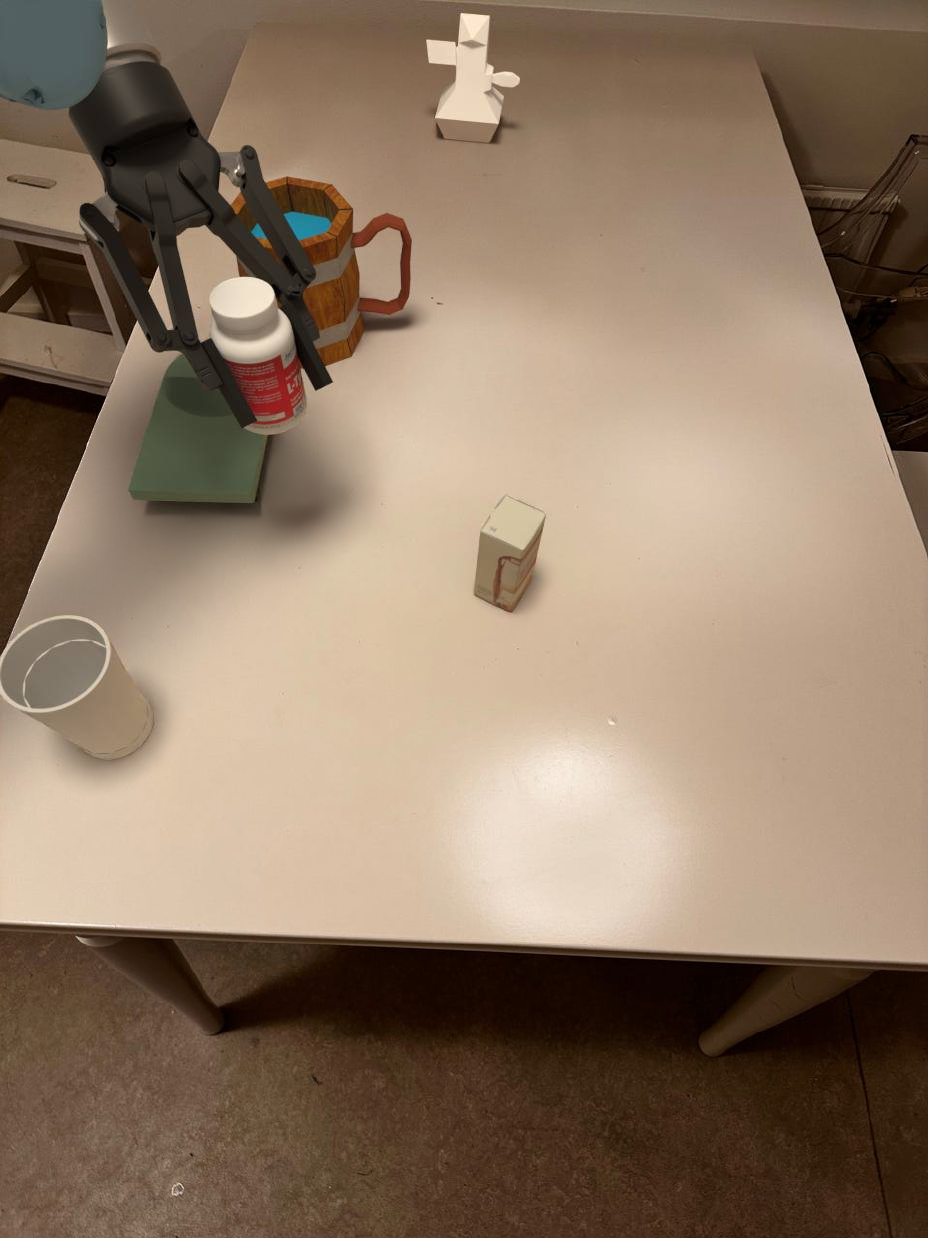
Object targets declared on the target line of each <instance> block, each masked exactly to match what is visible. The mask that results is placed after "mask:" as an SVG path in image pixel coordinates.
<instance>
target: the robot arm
mask: <svg viewBox="0 0 928 1238" xmlns="http://www.w3.org/2000/svg"><path fill="white" fill-rule="evenodd" d="M162 59H163V58H162V55H161V52H160V49H159V48H158V46H157V44H156V42H155V39H154V38H153V37H152V35H151V33H150V30H149V28H148V27H147V25H146V23H145V21H144V19H143V17H142V15H141V13H140V12H139V10H138V8H137V6H136V3H135V2H134V1H133V0H0V98H1V99H4V100H6V101H8V102H10V103H11V102H12V103H18V104H22V105H25V106H26V107H27V106H28V107H31V108H34V109H38V110H42V111H60V110H65V109H68V117H69V120H70V122H71V124H72V126H73V127H74V129H75V131H76V132H77V134H78V136H79V138H80V139H81V141H82V143H83V145H84V146H85V149H86V150H87V152H88V154H89V155H90V157H91V159H92V161H93V162H94V164H95V166H96V168H97V169H98V171H99V173H100V175H101V177H102V181H103V189H104V193H103V194H101V196H100V197H98V198H96V200H94V201H93V202H92V203H91V202H84V203H82V204H81V205H80V207H79V212H78V213H79V215H78V217H79V219H78V223H79V224H78V225H79V228H80V229H81V230H82V231H83V233H85V235H87V236H88V238H89V239H90V240H91V241H92V242H93V243H94V244H95V245H96V246H97V247H98V248H99V249H100V251H101V252H102V253H103V256H104V257H105V259H106V261H107V263H108V265H109V268H110V270H111V272H112V273H113V275H114V277H115V279H116V281H117V283H118V285H119V287H120V289H121V291H122V293H123V295H124V297H125V299H126V301H127V303H128V305H129V307H130V309H131V311H132V314H133V315H134V318H135V320H136V321H137V323H138V325H139V327H140V329H141V332H142V333H143V335H144V337H145V339H146V341H147V343H148V345H149V347H150V348H151V350H152V351H154V352H155V353H157V354H158V353H159V354H161V353H164V352H179V353H180V354H184V355H185V357H186V358H187V360H188V362H189V363H190V365H191V367H192V369H193V370H194V372H195V374H196V376H197V377H198V379H199V381H200V383H201V384H202V386H203V387H204V388H205V389H206V390H207V391H208V392H210V391H212V390H215V389H217V388H219V390H220V391H221V393H222V395H223V397H224V398H225V400H226V402H227V404H228V405H229V407H230V409H231V411H232V412H233V414H234V416H235V418H236V419H237V421H238V423H239V425H240V426H241V428H244V427H246V426H248V425H250V424H252V423H254V422H256V421H257V419H256V417H255V415H254V413H253V412H252V410H251V408H250V406H249V404H248V403H247V401H246V399H245V397H244V395H243V394H242V392H241V390H240V388H239V387H238V385H237V383H236V381H235V379H234V378H233V376H232V374H231V372H230V370H229V369H228V367H227V365H226V363H225V361H224V360H223V358H222V356H221V354H220V353H219V351H218V349H217V347H216V345H215V344H214V342H213V340H212V338H210V337H209V338H207V339H204V340H203V341H201V340H200V339H199V334H198V333H199V332H198V328H197V323H196V319H195V316H194V311H193V307H192V302H191V299H190V295H189V290H188V286H187V281H186V277H185V273H184V269H183V265H182V260H181V255H180V251H179V247H178V238H177V237H178V236H180V235H182V234H183V233H184V232H185V231H186V230H187V229H194V228H201V227H203V226H205V227H206V228H207V229H208V230H209V232H210V233H212V234H213V235H214V236H216V237H218V238H219V239H220V240H221V241H222V242H223V243H224V244H225V245H226V246H227V248H228V249H230V251H231V252H232V253H233V254H234V255H235V257H236V256H237V257H238V258H239V259H240V260H241V261H242V262H243V263H244V265H245V266H246V267H247V268H248V269H249V270H250V271H251V272H252V273H253V274H254V275H255V277H256V278H257V279H261V280H263V281H265V282H266V283H268V284H269V285H270V286H271V287H272V289H273V290H274V293H275V297H276V299H277V300H278V301H279V303H280V304H282V305H283V306H282V307H281V308H280V310H281V311H282V312H283V313H284V314H285V315H286V316H287V317H288V319H289V321H290V323H291V326H292V330H293V334H294V340H295V345H296V350H297V355H298V359H299V361H300V363H301V365H302V366H303V368H304V369H303V370H304V372H305V374H306V376H307V378H308V379H309V382H310V384H311V386H312V388H313V389H314V391H315V392H317V391H319V390H321V389H322V388H324V387H325V388H326V387H327V386H329V385H331V384H333V383H334V381H333V379H332V377H331V374H330V373H329V371H328V369H327V367H326V366H325V365H324V363H323V361H322V359H321V357H320V355H319V353H318V351H317V349H316V347H315V345H314V343H313V342H314V341H316V340H317V339H319V338H320V334H319V329H318V327H317V325H316V324H315V322H314V320H313V318H312V316H311V314H310V312H309V310H308V308H307V306H306V304H305V302H304V299H303V292H304V290H305V289H306V288H307V287H308V286H309V284H310V283H311V282H312V281H313V280H314V279H315V277H316V271H315V268H314V267H313V265H312V263H311V261H310V260H309V258H308V256H307V254H306V253H305V251H304V249H303V247H302V246H301V244H300V242H299V240H298V239H297V237H296V235H295V233H294V232H293V230H292V228H291V226H290V225H289V223H288V221H287V220H286V218H285V216H284V214H283V213H282V211H281V209H280V207H279V206H278V204H277V202H276V200H275V199H274V197H273V195H272V193H271V192H270V190H269V188H268V186H267V185H266V183H265V182H266V181H265V179H264V176H263V172H262V168H261V164H260V163H261V162H260V159H259V156H258V152H257V150H256V149H255V147H253V146H252V145H250V144H245V145H243V146H242V147H241V148H240V151H218V150H217V149H216V147H214V145H212V143H210V142H209V141H208V140H206V138H205V137H204V136H203V135H202V134H201V131H200V129H199V128H198V127H199V126H198V125H197V123H196V121H195V118H194V115H193V114H192V112H191V111H190V108H189V107H188V104H187V102H186V101H185V98H184V97H183V94H182V93H181V90H180V89H179V87H178V85H177V83H176V81H175V78H173V76H172V74H171V72H170V70H169V69H168V68H167V67H165V66H163V65H161V63H162ZM221 173H223V174H224V175H226V177H228V179H229V181H230V183H231V184H232V185H233V186H234V187H236V188H239V190H240V192H241V193H242V196H243V198H244V200H245V202H246V204H247V206H248V207H249V209H250V211H251V212H252V214H253V216H254V217H255V219H256V221H257V223H258V224H259V226H260V228H261V229H262V231H263V233H264V234H265V236H266V238H267V240H268V241H269V243H270V245H271V246H272V248H273V250H274V251H275V253H276V255H277V257H278V258H279V260H280V262H281V263H282V265H283V267H284V268H285V269H284V268H283V267H282V266H281V265H280V264H279V263H278V262H277V261H276V259H275V258H274V257H273V256H272V255H271V254H270V253H269V252H268V251H267V249H266V248H265V247H264V246H263V245H262V244H261V243H260V242H259V240H258V239H257V238H256V237H255V236H254V235H253V234H252V233H251V232H250V230H249V229H248V228H247V227H246V226H245V225H244V224H243V223H242V221H241V220H240V219H239V218H238V217H237V216H236V214H235V212H234V209H233V208H232V207H231V204H230V202H228V201H227V199H226V198H225V197H224V196H223V195H222V194H221V193H220V180H221ZM117 211H118V212H120V213H121V214H123V215H125V216H127V217H128V218H130V219H132V220H133V221H135V222H136V223H138V224H140V225H141V226H143V227H145V228H146V229H148V233H149V238H150V242H151V246H152V250H153V253H154V255H155V257H156V262H157V266H158V270H159V274H160V280H161V282H162V288H163V292H164V295H165V299H166V304H167V309H168V312H169V317H170V320H171V321H170V322H171V325H172V329H168V328H167V325H166V324H165V322H164V320H163V318H162V316H161V314H160V312H159V309H158V308H157V305H156V303H155V301H154V300H153V298H152V296H151V294H150V293H151V292H150V291H149V290H148V287H147V285H146V283H145V281H144V279H143V277H142V275H141V273H140V271H139V269H138V267H137V265H136V263H135V261H134V259H133V256H132V255H131V252H130V251H129V249H128V247H127V245H126V242H125V240H124V239H123V237H122V236H121V234H120V225H121V223H120V220H119V218H118V216H117V214H116V212H117ZM285 270H286V271H285Z"/></svg>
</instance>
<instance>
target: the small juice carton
mask: <svg viewBox="0 0 928 1238" xmlns="http://www.w3.org/2000/svg"><path fill="white" fill-rule="evenodd" d="M546 518H547V512H546V511H544V510H543V509H540V508H538V507H536V506H535V505H532V504H530V503H528V502H526V501H523V500H522V499H520V498H517V497H515V496H513V495H511V494H508V493H504V494H503V496H502V497H501V498H500V499H499V501H498V502H497V504H496V505H495V506H494V508H493V510H492V511H491V512H490V513H489V515H488V517H487V518H486V520H485V522H484V523H483V525H482V527H481V528H480V530H479V539H478V549H477V559H476V568H475V576H474V577H475V578H474V586H473V587H474V588H473V589H474V590H473V594H474V595H475V596H477V597H479V598H481V599H483V600H485V601H487V602H489V603H490V604H492V605H495V606H496V607H498V608H501V609H503V610H505V611H508V612H512V611H514V609H515V607H516V606H517V605H518V603H519V601H520V600H521V598H522V597H523V595H524V593H525V592H526V589H527V588H528V586H529V585H530V583H531V581H532V579H533V577H534V576H533V575H534V572H535V568H536V567H535V566H536V563H537V558H538V553H539V548H540V545H541V540H542V536H543V530H544V526H545V522H546Z"/></svg>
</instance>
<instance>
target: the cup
mask: <svg viewBox="0 0 928 1238" xmlns="http://www.w3.org/2000/svg"><path fill="white" fill-rule="evenodd" d="M0 696H1V697H2V698H3V700H4V701H5V702H6V703H7V704H8V705H10V706H12V707H13V708H15V709H16V710H18V711H20V712H21V713H23V714H25V715H27V716H29V717H30V718H32V719H34V720H35V721H37V722H39V723H41V724H43V725H44V726H46V727H47V728H49V729H51V730H52V731H54V732H56V733H57V734H59V736H62V737H63V738H65V739H66V740H68V741H70V742H71V743H73V744H74V745H76V746H78V747H79V748H81V749H82V750H83V751H84V752H85V753H86V754H88V755H89V756H91V757H93V758H95V759H99V760H103V761H104V760H105V761H110V760H111V761H112V760H118V759H121V758H125V757H126V756H129V755H131V754H132V753H134V752H135V751H137V750H138V749H139V748H140V747H141V746H142V745H143V744H144V743H145V742H146V741H147V739H148V738H149V736H150V734H151V732H152V729H153V726H154V718H155V717H154V710H153V707H152V705H151V704H150V702H149V701H148V700H147V699H146V697H144V695H143V694H142V693H141V691H140V690H139V687H138V686H137V685H136V683H135V682H134V680H133V678H132V677H131V675H130V673H129V672H128V670H127V669H126V667H125V665H124V664H123V661H122V660H121V658H120V655H119V653H118V652H117V650H116V648H115V647H114V645H113V643H112V641H111V640H110V637H109V636H108V634H107V633H106V631H105V630H104V629H103V628H102V626H100V625H99V624H98V623H96V622H95V621H94V620H91V619H90V618H87V617H84V616H79V615H71V614H64V615H55V616H51V617H47V618H44V619H40V620H39V621H37V622H34V623H32V624H31V625H29V626H27V627H25V628H24V629H22V630H21V631H20V632H19V633H17V634H16V635H15V636H14V637H13V638H12V639H11V641H10V642H9V643H8V644H7V646H5V648H4V649H3V651H2V653H1V654H0Z"/></svg>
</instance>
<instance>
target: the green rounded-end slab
mask: <svg viewBox="0 0 928 1238" xmlns="http://www.w3.org/2000/svg"><path fill="white" fill-rule="evenodd" d="M268 436H269V435H264V434H257V433H254V432H251V431H249V430H247V429H245V428H241V426H240V425H239V423H238V421H237V419H236V418H235V416H234V414H233V412H232V411H231V409H230V407H229V405H228V404H227V402H226V400H225V398H224V397H223V395H222V393H221V391H220V390H219V388H217V389H215V390H212V391H210V392H208V391H207V390H206V389H205V388H204V387H203V386H202V384H201V383H200V381H199V379H198V377H197V376H196V374H195V372H194V370H193V369H192V367H191V365H190V363H189V362H188V360H187V358H186V357H185V355H184V354H182V353H180V355H179V356H177V357H176V358H174V360H173V361H172V362H171V363H170V364H169V366H168V367H167V368H166V370H165V372H164V374H163V377H162V379H161V383H160V386H159V389H158V393H157V396H156V398H155V402H154V405H153V408H152V412H151V415H150V418H149V422H148V424H147V428H146V431H145V435H144V437H143V440H142V443H141V447H140V450H139V453H138V456H137V460H136V463H135V466H134V469H133V473H132V476H131V480H130V482H129V485H128V489H127V492H128V493H129V495H130V496H131V499H132V500H133V501H155V502H158V501H159V502H189V503H190V502H191V503H192V502H195V503H196V502H197V503H229V504H230V503H233V504H234V503H235V504H255V503H256V502H259V497H260V492H261V488H260V485H259V481H260V475H261V471H262V465H263V461H264V456H265V450H266V445H267V441H268Z"/></svg>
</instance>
